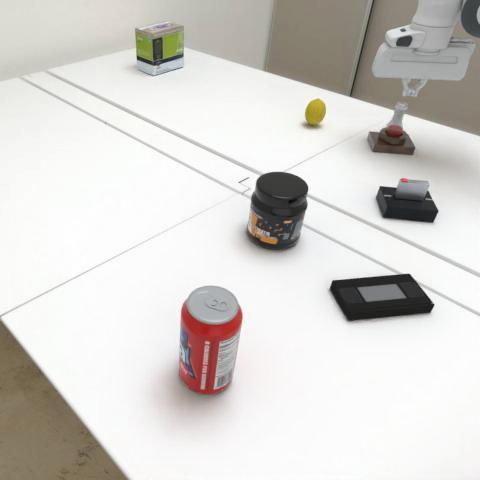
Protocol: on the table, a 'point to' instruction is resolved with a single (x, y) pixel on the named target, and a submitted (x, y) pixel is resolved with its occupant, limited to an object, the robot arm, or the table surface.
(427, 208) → the plate
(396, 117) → the rook chess piece
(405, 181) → the grey rocker switch
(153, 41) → the tea box
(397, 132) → the button
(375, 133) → the button block
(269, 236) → the supplement container
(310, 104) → the lemon
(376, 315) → the vhs tape
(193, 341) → the soda can
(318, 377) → the table surface
